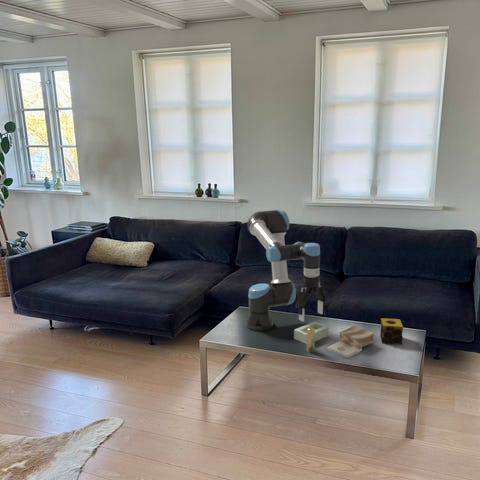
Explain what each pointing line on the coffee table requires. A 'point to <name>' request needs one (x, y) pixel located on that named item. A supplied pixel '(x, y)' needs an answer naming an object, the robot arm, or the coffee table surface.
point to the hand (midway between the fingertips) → (311, 317)
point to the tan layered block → (356, 337)
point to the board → (343, 349)
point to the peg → (310, 339)
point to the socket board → (320, 332)
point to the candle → (391, 331)
